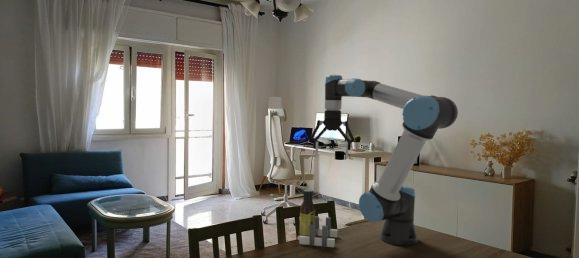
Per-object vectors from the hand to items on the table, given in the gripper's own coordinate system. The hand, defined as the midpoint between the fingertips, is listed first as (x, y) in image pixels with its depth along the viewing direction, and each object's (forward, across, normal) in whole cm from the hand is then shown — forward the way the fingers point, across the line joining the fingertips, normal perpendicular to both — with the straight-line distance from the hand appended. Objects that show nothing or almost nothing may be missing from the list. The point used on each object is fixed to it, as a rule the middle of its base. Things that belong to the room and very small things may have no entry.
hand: (331, 156), depth 179 cm
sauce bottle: (+32, +8, +18) cm, 38 cm away
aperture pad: (+33, +8, +18) cm, 38 cm away
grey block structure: (+33, +2, +18) cm, 37 cm away
